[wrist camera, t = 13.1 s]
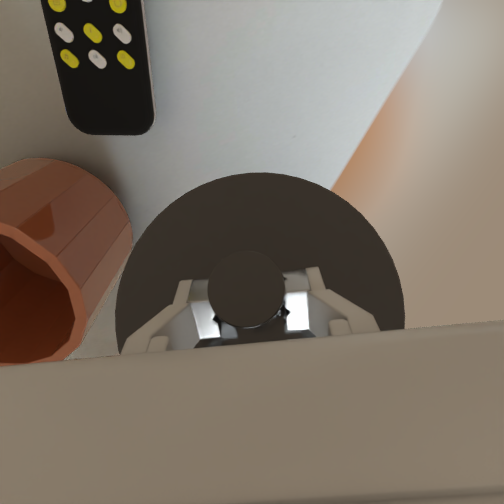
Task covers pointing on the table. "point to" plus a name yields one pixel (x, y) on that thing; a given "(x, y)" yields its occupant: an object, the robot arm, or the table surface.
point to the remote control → (103, 64)
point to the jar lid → (257, 257)
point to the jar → (55, 257)
